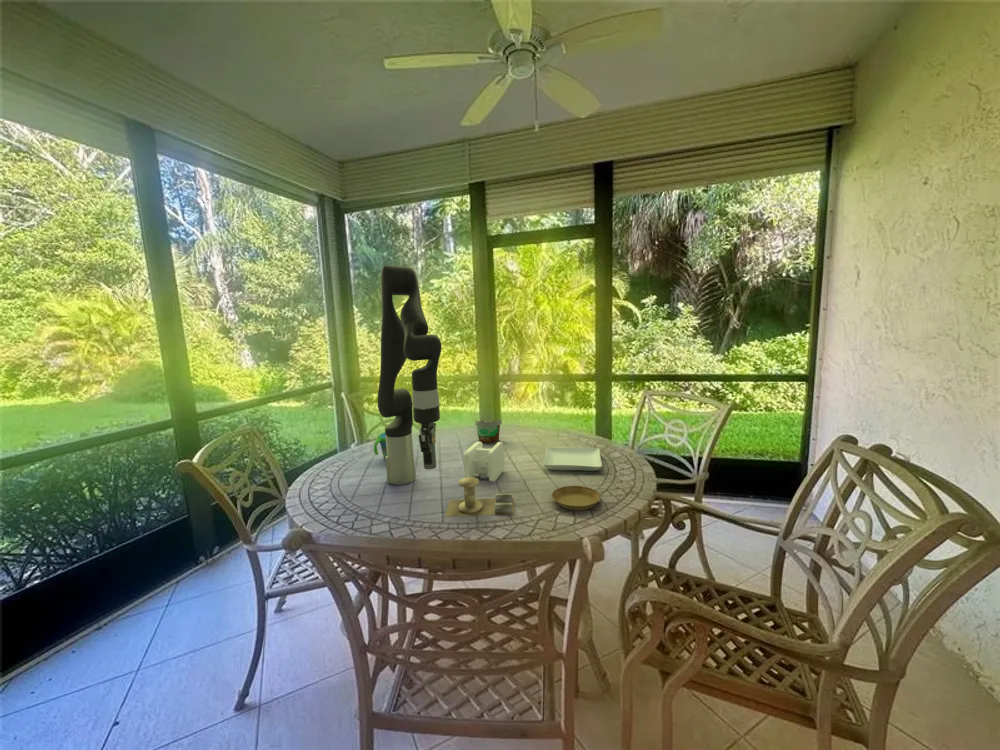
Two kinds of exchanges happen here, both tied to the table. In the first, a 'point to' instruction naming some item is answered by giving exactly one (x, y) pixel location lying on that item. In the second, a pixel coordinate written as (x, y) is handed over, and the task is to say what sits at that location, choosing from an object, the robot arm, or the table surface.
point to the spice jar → (432, 456)
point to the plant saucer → (576, 497)
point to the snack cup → (383, 445)
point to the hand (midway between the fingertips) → (429, 461)
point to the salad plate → (572, 458)
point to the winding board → (485, 506)
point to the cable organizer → (484, 461)
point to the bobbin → (469, 496)
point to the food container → (488, 431)
